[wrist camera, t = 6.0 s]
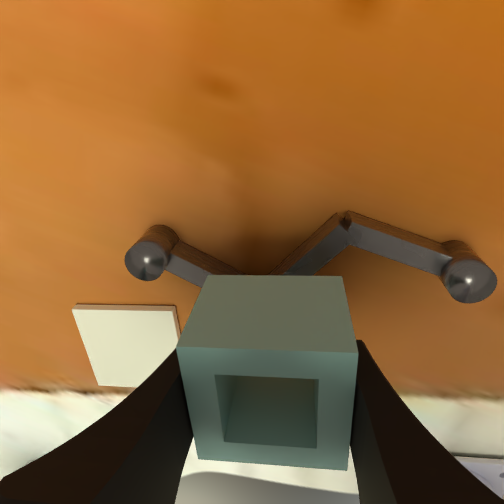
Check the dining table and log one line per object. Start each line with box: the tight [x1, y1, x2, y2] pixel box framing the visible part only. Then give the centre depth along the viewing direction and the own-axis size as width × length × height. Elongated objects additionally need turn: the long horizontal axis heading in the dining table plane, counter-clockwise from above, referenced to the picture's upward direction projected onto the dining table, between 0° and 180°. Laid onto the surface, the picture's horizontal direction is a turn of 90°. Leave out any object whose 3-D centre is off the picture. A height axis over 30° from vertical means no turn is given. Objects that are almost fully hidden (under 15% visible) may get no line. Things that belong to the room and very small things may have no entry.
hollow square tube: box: [176, 275, 358, 471], centre depth 12 cm, size 5×5×4 cm
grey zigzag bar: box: [125, 211, 497, 303], centre depth 16 cm, size 5×16×2 cm, turn 94°
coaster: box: [72, 304, 181, 387], centre depth 21 cm, size 6×6×1 cm
